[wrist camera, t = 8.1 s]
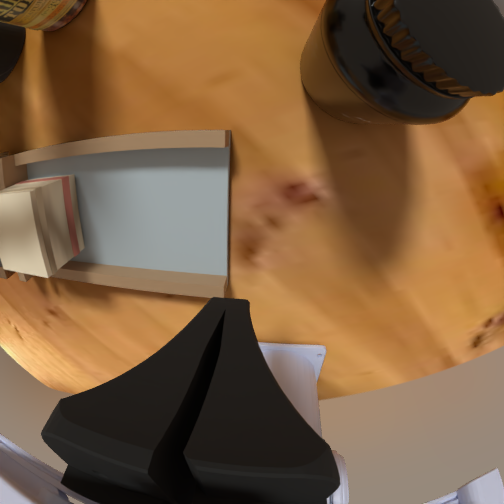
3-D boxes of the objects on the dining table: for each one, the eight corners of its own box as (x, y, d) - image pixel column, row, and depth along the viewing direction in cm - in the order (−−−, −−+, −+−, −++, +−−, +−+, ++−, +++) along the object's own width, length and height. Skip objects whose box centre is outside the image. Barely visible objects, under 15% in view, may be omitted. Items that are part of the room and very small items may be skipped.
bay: (228, 283, 21) (220, 311, 18) (42, 262, 22) (20, 280, 19) (230, 130, 17) (220, 130, 13) (23, 151, 17) (-5, 159, 14)
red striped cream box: (85, 248, 20) (48, 278, 15) (38, 244, 20) (3, 269, 16) (74, 173, 17) (30, 190, 13) (27, 179, 18) (-14, 195, 13)
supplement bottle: (349, 145, 16) (462, 181, 6) (276, 66, 15) (281, -31, 4) (417, 88, 14) (552, 77, 3) (350, 12, 12) (428, -83, 1)
